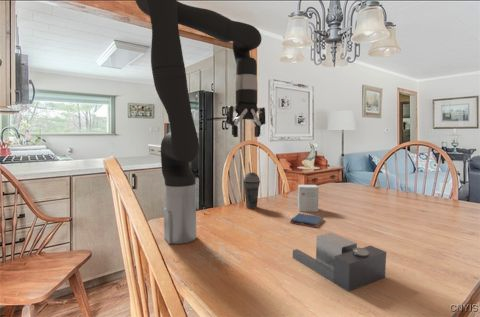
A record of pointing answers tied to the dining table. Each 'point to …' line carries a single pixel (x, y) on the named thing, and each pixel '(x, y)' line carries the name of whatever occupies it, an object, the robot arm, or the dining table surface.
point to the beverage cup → (251, 189)
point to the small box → (308, 198)
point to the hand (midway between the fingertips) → (246, 136)
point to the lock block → (332, 248)
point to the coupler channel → (349, 267)
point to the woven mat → (307, 220)
